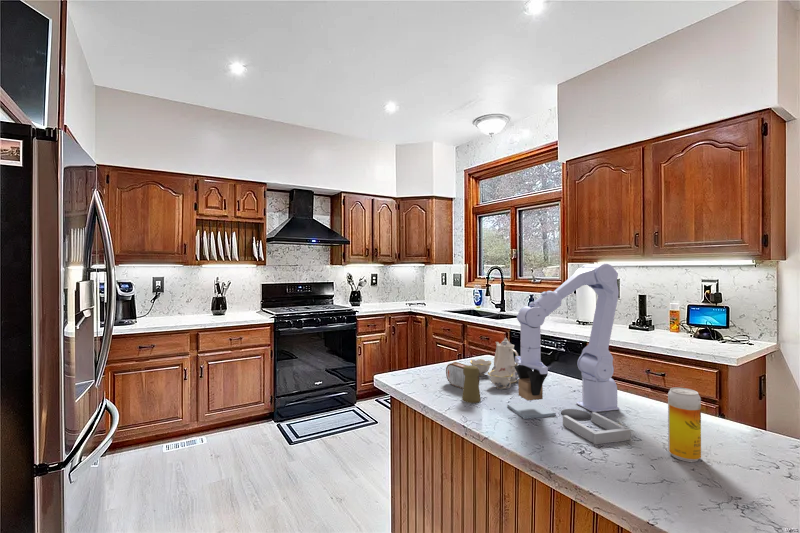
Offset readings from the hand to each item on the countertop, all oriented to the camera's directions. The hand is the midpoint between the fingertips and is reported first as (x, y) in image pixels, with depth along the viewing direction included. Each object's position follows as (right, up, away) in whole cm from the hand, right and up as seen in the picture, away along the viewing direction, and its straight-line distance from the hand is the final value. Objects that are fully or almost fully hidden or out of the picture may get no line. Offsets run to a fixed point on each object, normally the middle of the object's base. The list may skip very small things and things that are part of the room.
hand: (530, 392), depth 119 cm
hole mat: (+12, -6, -3) cm, 14 cm away
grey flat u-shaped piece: (+12, -6, -15) cm, 20 cm away
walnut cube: (0, -2, 0) cm, 2 cm away
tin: (-17, -6, +24) cm, 30 cm away
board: (0, -6, 0) cm, 6 cm away
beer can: (+26, -6, -29) cm, 39 cm away
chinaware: (-2, -6, +33) cm, 33 cm away
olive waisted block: (-16, -6, +10) cm, 20 cm away
